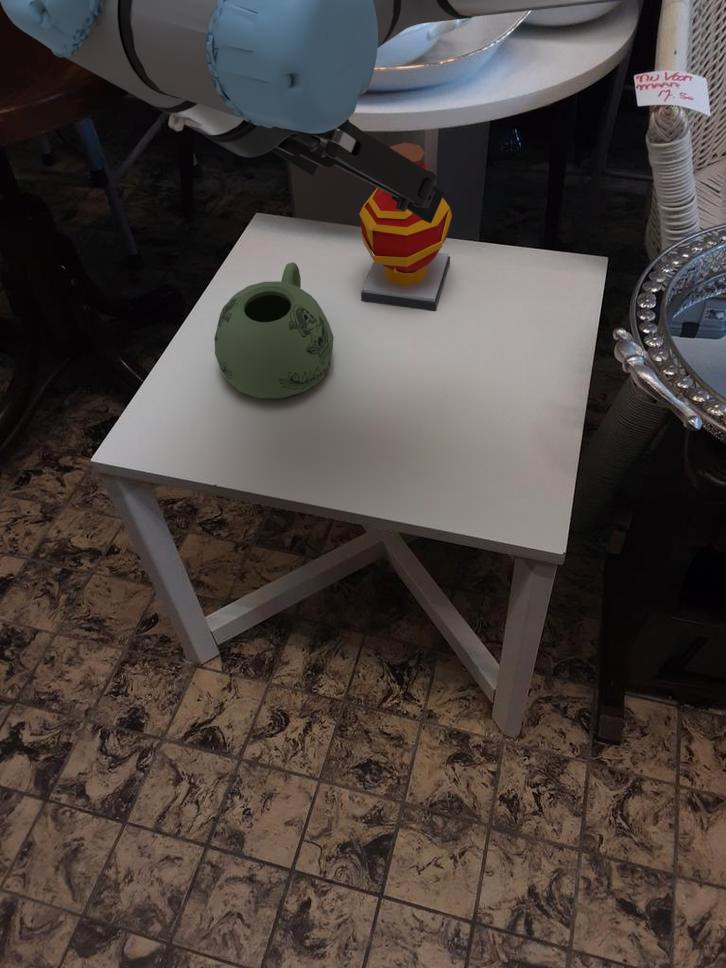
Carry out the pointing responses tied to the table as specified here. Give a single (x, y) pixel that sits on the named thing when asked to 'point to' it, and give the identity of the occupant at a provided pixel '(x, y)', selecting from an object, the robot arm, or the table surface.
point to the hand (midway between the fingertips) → (373, 183)
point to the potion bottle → (403, 231)
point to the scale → (411, 295)
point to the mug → (273, 338)
